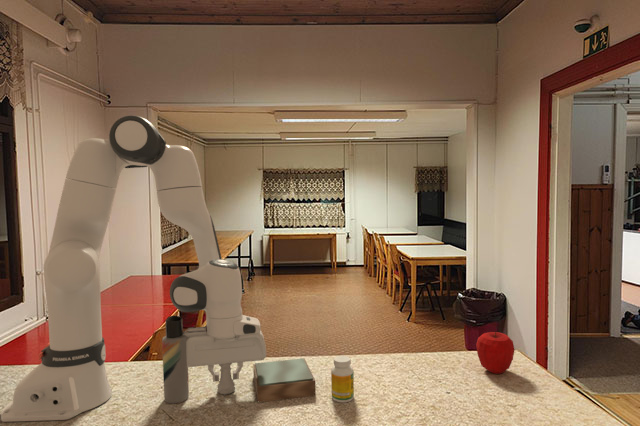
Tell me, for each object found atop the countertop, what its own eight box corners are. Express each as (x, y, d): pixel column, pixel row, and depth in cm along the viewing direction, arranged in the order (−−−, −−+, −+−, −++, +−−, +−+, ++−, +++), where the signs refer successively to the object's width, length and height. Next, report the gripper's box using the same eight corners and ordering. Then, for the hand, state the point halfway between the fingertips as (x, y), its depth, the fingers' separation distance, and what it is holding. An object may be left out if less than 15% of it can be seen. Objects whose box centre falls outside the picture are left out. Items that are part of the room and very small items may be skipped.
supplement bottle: (330, 392, 106) (330, 354, 106) (352, 392, 106) (352, 354, 106) (332, 403, 101) (331, 363, 100) (355, 402, 101) (354, 362, 100)
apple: (485, 361, 124) (485, 323, 123) (519, 370, 117) (520, 330, 117) (469, 371, 117) (469, 332, 116) (505, 382, 110) (506, 340, 110)
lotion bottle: (182, 390, 109) (179, 312, 108) (193, 398, 105) (190, 316, 104) (160, 398, 105) (157, 317, 104) (170, 406, 101) (167, 322, 100)
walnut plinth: (257, 402, 102) (257, 385, 102) (253, 377, 116) (253, 362, 116) (315, 395, 105) (315, 379, 105) (304, 371, 119) (304, 357, 119)
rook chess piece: (228, 385, 111) (227, 354, 111) (239, 390, 108) (238, 358, 108) (213, 391, 108) (212, 360, 107) (224, 396, 105) (223, 364, 105)
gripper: (179, 332, 102) (181, 389, 103) (266, 325, 106) (267, 380, 107) (182, 324, 108) (183, 378, 109) (264, 318, 113) (265, 370, 113)
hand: (226, 379), depth 108 cm, fingers closed on rook chess piece, 3 cm apart
